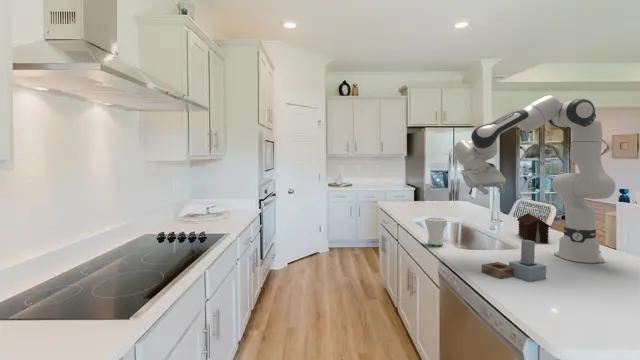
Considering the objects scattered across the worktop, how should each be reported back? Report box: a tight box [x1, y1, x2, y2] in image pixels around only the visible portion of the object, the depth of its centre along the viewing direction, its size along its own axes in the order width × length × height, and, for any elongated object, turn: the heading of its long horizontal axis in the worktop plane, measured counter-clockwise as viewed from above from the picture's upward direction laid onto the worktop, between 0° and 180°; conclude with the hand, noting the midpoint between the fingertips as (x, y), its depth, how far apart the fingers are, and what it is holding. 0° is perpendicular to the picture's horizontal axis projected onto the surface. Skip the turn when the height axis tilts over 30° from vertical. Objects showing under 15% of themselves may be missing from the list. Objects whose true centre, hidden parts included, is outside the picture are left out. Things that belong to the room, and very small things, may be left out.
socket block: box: [481, 261, 515, 280], centre depth 143 cm, size 9×9×3 cm
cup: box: [424, 216, 448, 248], centre depth 189 cm, size 11×11×14 cm
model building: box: [516, 212, 552, 244], centre depth 201 cm, size 21×12×15 cm, turn 163°
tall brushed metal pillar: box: [520, 239, 536, 266], centre depth 140 cm, size 3×3×14 cm
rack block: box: [508, 259, 547, 282], centre depth 140 cm, size 9×9×5 cm
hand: (494, 193), depth 152 cm, fingers open, 8 cm apart
